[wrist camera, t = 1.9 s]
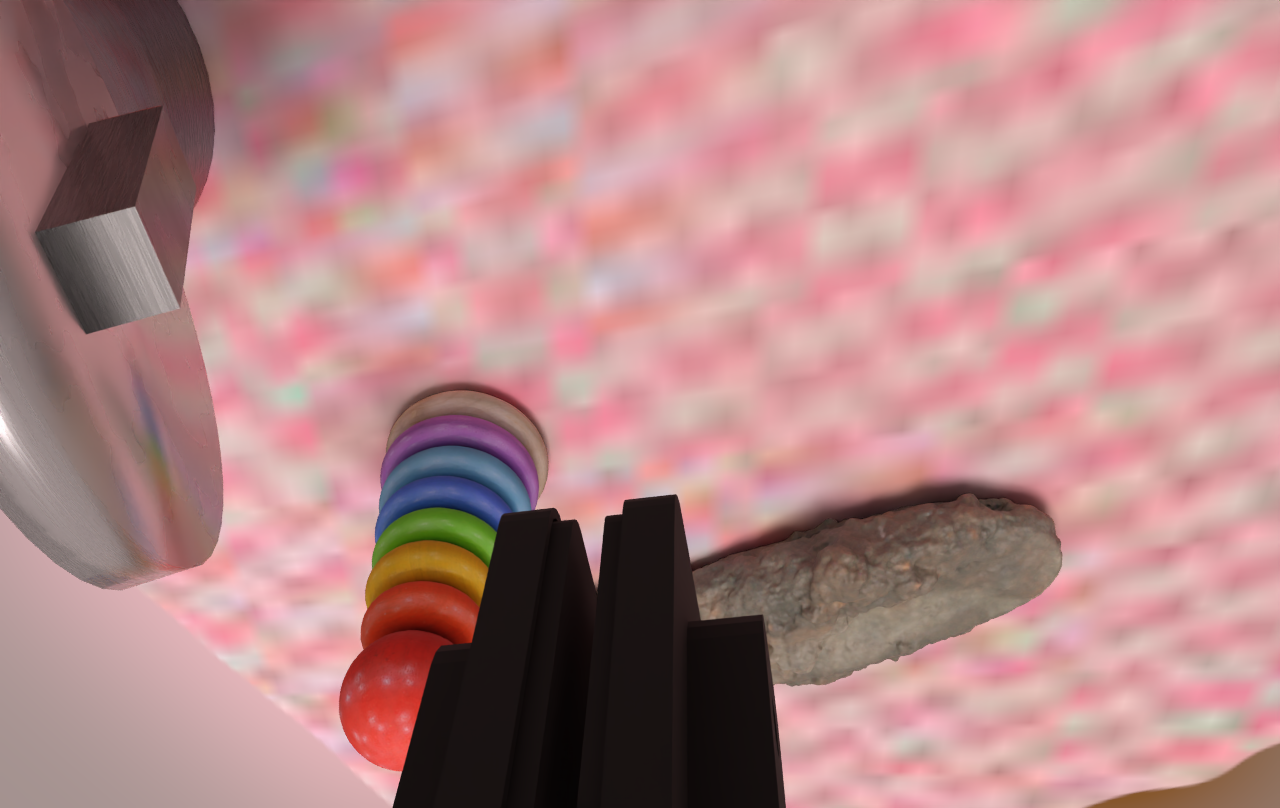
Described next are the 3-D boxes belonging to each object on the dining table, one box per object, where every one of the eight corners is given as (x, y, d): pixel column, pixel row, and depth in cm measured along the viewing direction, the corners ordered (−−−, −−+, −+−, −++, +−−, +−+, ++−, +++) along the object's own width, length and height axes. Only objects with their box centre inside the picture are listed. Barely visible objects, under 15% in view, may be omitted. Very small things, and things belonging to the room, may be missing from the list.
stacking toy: (479, 537, 57) (401, 853, 41) (359, 447, 54) (224, 750, 38) (583, 453, 53) (541, 761, 38) (461, 352, 50) (360, 640, 35)
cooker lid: (-434, -178, 14) (-134, -231, 14) (-79, -187, 29) (60, -213, 29) (141, 752, 23) (306, 695, 24) (182, 381, 38) (283, 352, 39)
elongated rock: (413, 608, 62) (494, 711, 67) (390, 681, 58) (479, 785, 63) (1029, 440, 52) (1068, 577, 57) (1057, 514, 48) (1096, 654, 53)
